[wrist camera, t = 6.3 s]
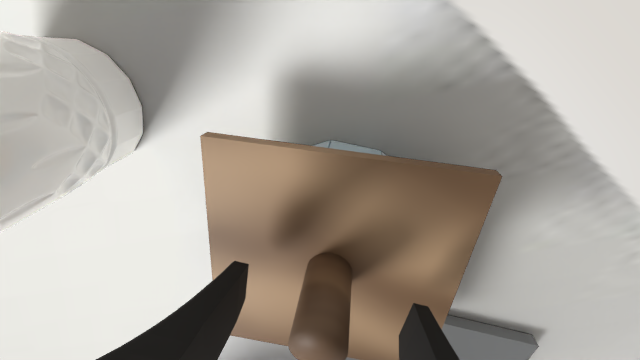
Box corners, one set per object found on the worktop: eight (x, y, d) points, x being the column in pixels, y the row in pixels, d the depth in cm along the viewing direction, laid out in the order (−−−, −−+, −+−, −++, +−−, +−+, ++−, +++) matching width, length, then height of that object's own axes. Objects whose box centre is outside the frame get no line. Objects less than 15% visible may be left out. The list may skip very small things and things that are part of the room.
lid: (423, 361, 17) (442, 464, 13) (221, 324, 18) (179, 408, 14) (495, 170, 12) (567, 239, 8) (207, 131, 13) (132, 175, 9)
